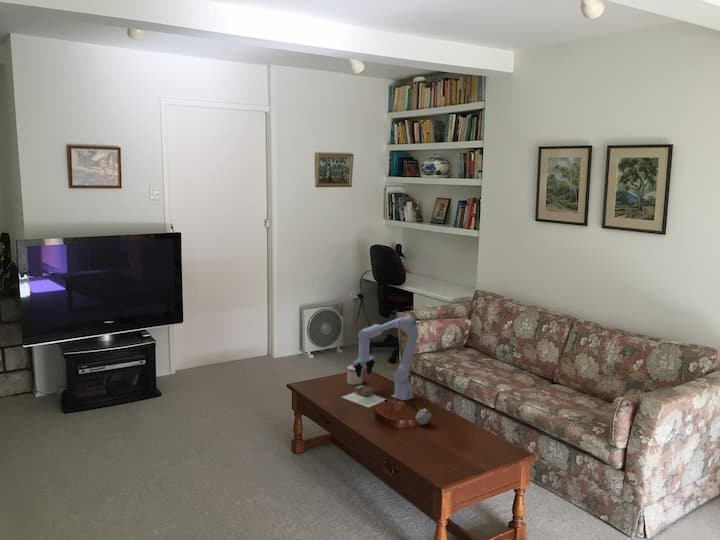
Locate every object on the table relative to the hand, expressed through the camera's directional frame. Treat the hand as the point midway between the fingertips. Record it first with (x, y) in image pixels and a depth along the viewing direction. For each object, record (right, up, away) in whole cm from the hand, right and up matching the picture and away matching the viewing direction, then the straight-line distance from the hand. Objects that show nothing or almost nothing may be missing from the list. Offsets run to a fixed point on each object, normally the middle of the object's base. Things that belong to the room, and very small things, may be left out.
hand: (363, 375), depth 337 cm
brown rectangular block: (0, -10, -4) cm, 10 cm away
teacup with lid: (-6, -7, +17) cm, 19 cm away
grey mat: (0, -11, -10) cm, 15 cm away
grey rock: (+28, -17, -41) cm, 52 cm away
